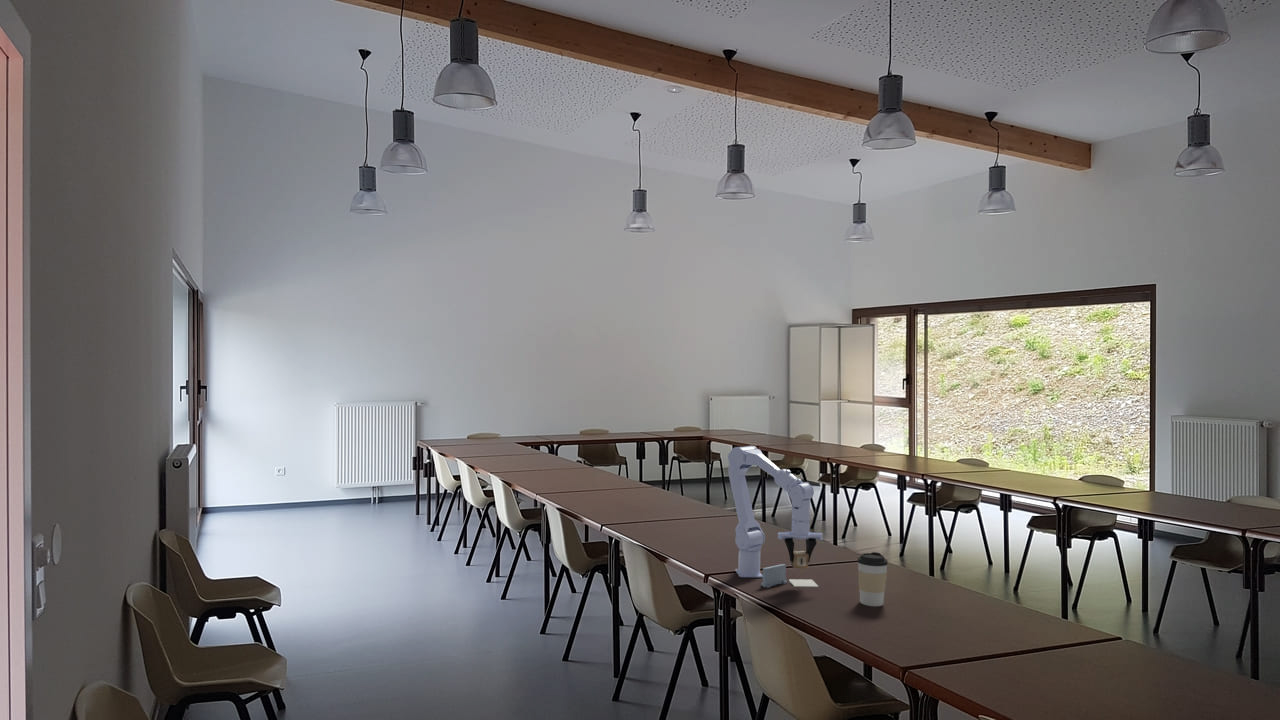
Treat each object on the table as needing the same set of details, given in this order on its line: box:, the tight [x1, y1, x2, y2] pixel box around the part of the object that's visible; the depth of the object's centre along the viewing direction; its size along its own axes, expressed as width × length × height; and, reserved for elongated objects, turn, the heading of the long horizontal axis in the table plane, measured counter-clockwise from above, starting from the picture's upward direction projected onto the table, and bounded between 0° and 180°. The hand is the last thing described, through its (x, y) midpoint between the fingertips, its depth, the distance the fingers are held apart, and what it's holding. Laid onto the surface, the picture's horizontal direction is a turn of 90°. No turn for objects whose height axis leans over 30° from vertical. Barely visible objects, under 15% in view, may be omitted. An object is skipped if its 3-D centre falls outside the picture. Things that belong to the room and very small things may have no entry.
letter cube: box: [790, 550, 809, 570], centre depth 274 cm, size 5×5×5 cm
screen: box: [760, 563, 788, 589], centre depth 276 cm, size 3×10×6 cm, turn 129°
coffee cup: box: [856, 551, 889, 607], centre depth 258 cm, size 9×9×15 cm
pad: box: [788, 578, 819, 588], centre depth 278 cm, size 8×8×1 cm
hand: (799, 561), depth 274 cm, fingers closed on letter cube, 5 cm apart
